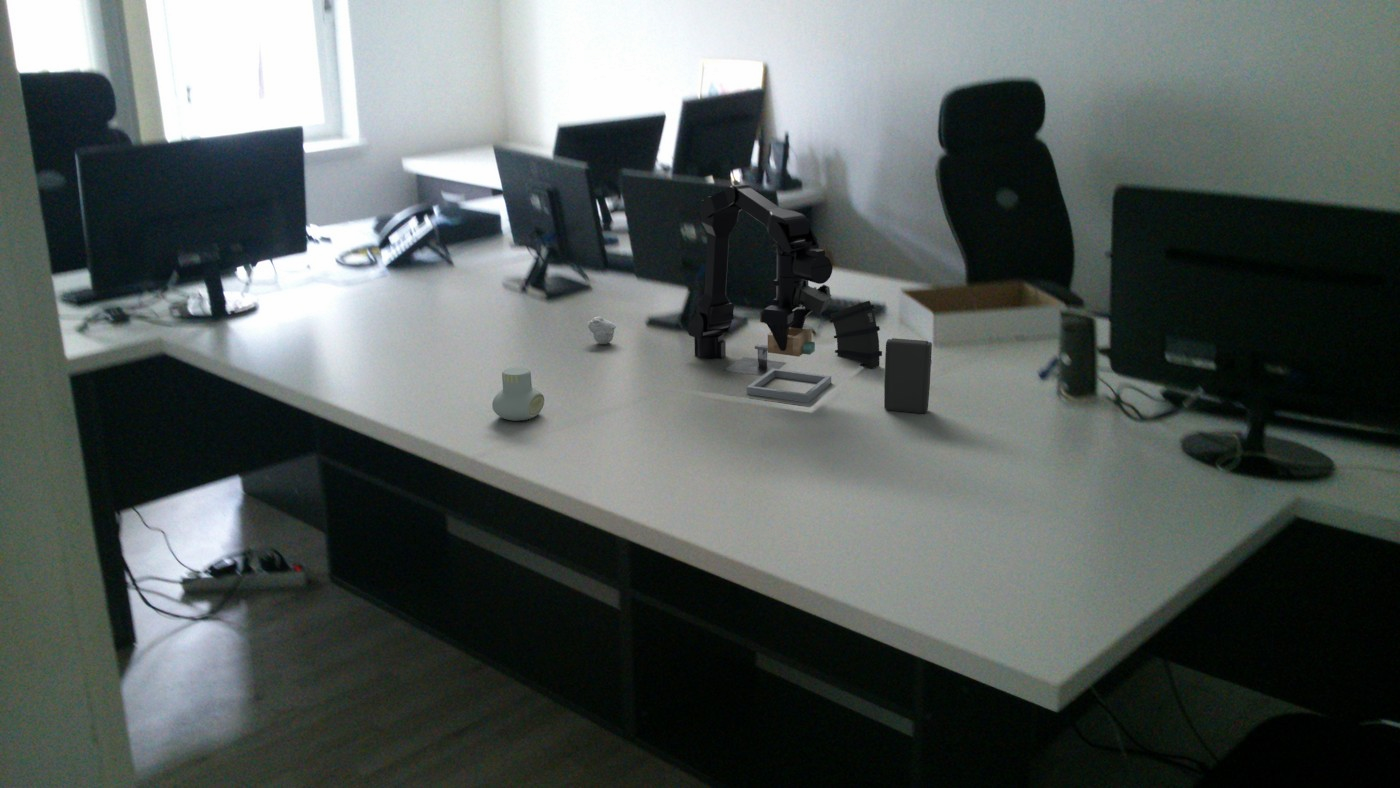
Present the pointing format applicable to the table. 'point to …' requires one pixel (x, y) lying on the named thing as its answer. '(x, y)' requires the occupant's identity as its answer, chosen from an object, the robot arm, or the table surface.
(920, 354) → the card reader
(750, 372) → the stake stand
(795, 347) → the light brown open box
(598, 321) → the grey lumpy chunk
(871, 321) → the magazine
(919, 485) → the table surface
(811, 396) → the tray
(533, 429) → the table surface
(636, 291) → the table surface
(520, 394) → the air freshener
